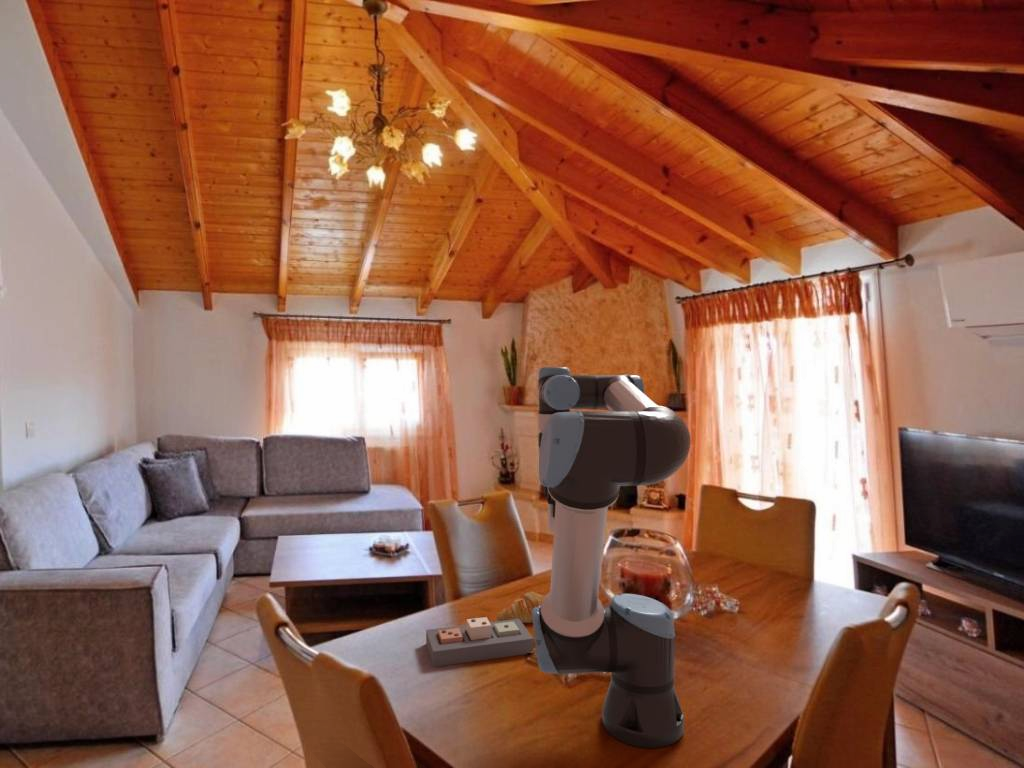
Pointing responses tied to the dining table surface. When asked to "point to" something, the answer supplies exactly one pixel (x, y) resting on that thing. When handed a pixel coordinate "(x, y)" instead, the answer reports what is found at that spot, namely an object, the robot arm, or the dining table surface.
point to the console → (478, 645)
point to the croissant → (522, 608)
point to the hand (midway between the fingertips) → (554, 529)
